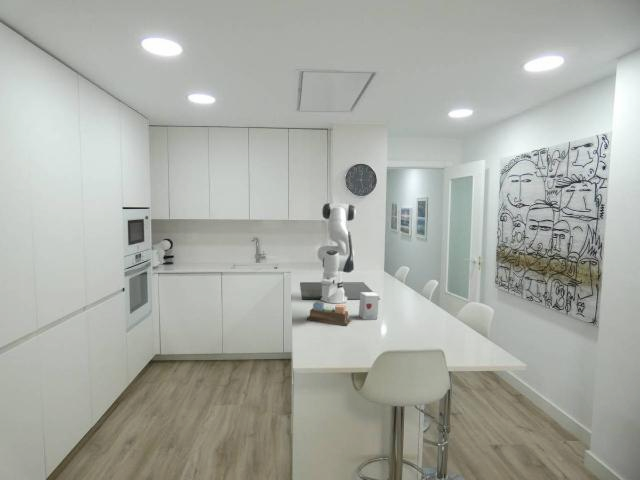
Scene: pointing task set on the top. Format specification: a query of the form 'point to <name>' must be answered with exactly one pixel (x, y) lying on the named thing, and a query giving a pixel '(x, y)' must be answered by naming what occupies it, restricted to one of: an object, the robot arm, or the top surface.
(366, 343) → the top surface
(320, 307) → the blue block
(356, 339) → the top surface
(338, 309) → the terracotta block
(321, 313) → the divided box
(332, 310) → the sage block
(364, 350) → the top surface
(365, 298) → the supplement box
